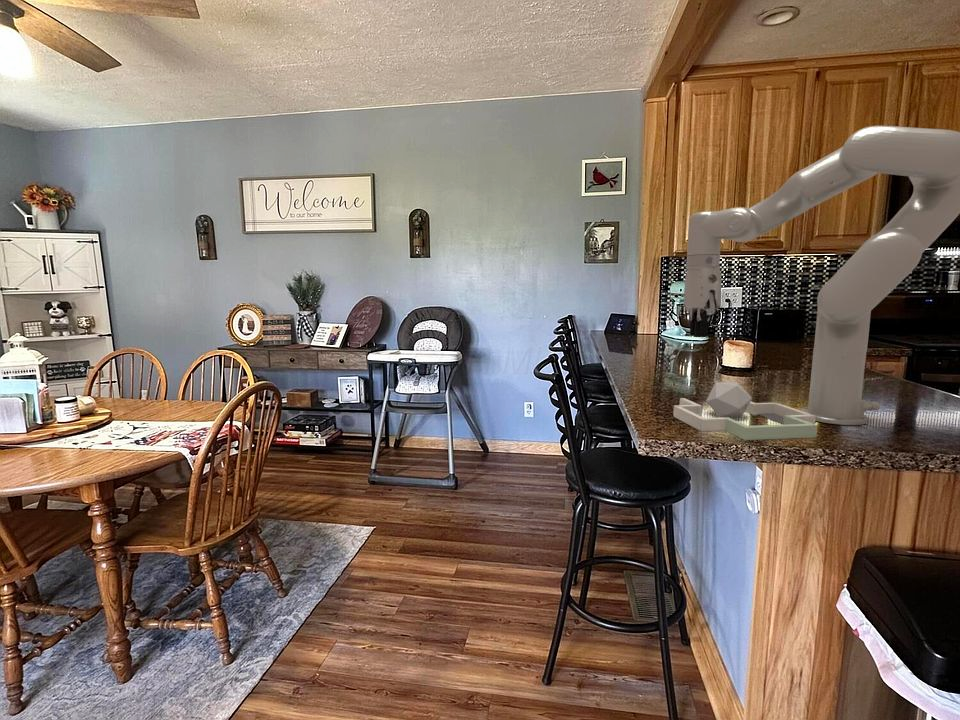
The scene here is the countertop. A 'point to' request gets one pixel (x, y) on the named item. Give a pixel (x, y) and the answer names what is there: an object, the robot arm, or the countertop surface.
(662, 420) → the countertop surface
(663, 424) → the countertop surface
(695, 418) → the dice tray
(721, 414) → the die
